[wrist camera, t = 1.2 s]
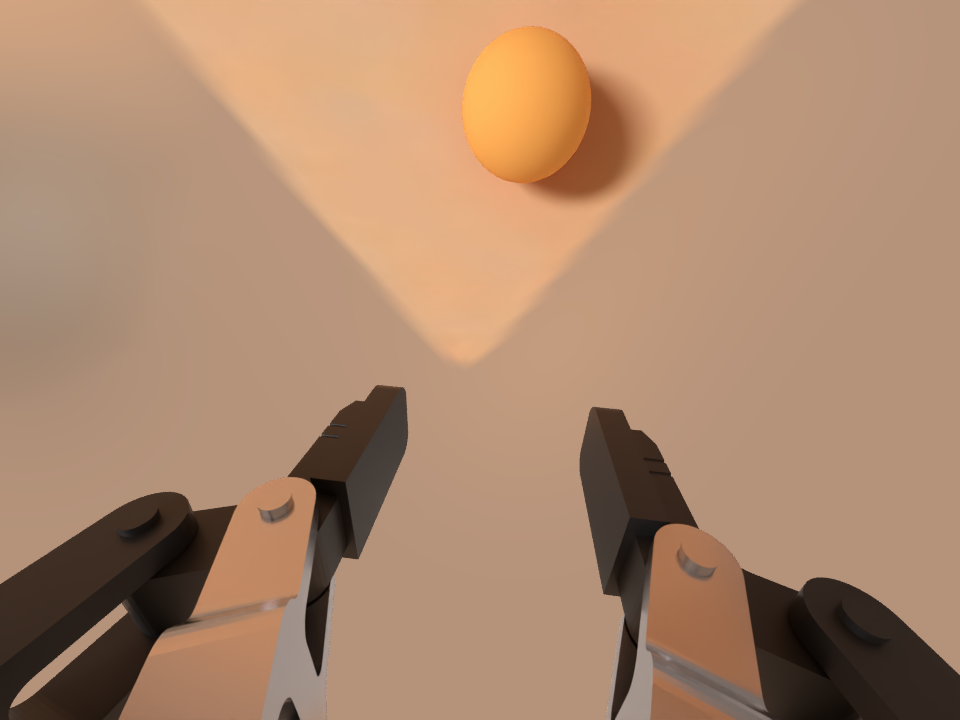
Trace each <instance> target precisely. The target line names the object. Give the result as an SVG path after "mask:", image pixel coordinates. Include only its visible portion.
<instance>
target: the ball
mask: <svg viewBox="0 0 960 720" xmlns="http://www.w3.org/2000/svg"><path fill="white" fill-rule="evenodd" d="M590 111H591V88H590V81H589V77H588V73H587V70H586V68H585V65H584V62H583V61H582V59H581V57H580V55H579V53H578V52H577V51H576V49H575V48H574V47H573V45H572V44H571V43H569V42H568V41H567V40H566V39H565V38H564V37H562V36H561V35H560V34H558V33H556V32H554V31H552V30H549V29H546V28H542V27H534V26H530V27H521V28H517V29H513V30H511V31H509V32H506V33H504V34H503V35H501V36H499V37H498V38H496V39H495V40H494V41H493V42H491V43H490V44H489V45H488V46H487V47H486V48H485V49H484V50H483V52H482V53H481V54H480V56H479V57H478V59H477V60H476V62H475V64H474V65H473V67H472V69H471V72H470V74H469V76H468V79H467V83H466V86H465V90H464V95H463V104H462V119H463V126H464V131H465V135H466V138H467V141H468V143H469V146H470V148H471V150H472V152H473V153H474V155H475V156H476V158H477V159H478V161H479V162H480V163H481V164H482V165H483V166H484V168H486V169H487V170H488V171H489V172H490V173H492V174H494V175H495V176H497V177H499V178H501V179H503V180H506V181H510V182H516V183H529V182H535V181H538V180H541V179H544V178H546V177H548V176H550V175H552V174H553V173H555V172H556V171H558V170H559V169H560V168H561V167H562V166H564V165H565V164H566V162H567V161H568V160H569V159H570V158H571V157H572V155H573V154H574V153H575V151H576V150H577V148H578V146H579V145H580V143H581V141H582V139H583V137H584V134H585V132H586V129H587V126H588V122H589V117H590Z"/></svg>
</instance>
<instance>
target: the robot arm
mask: <svg viewBox="0 0 960 720" xmlns="http://www.w3.org/2000/svg"><path fill="white" fill-rule="evenodd" d="M407 439H408V422H407V404H406V391H405V389H404V388H403V387H393V386H383V385H377V386H376V387H375V388H374V389H373V390H372V392H371V393H370V394H369V396H368V397H367V399H366V400H365V401H355V402H353V403H352V404H350V405H348V406H347V407H345V408H344V409H342V410H341V411H339V413H338V414H337V415H336V417H335V418H334V419H333V420H332V422H331V423H330V426H328V427H327V428H326V429H325V430H324V432H323V433H322V436H321V437H319V438H318V439H317V440H316V442H315V443H314V444H313V445H312V447H311V448H310V449H309V451H308V452H307V453H306V454H305V455H304V457H303V458H302V459H301V460H300V462H299V463H298V464H297V465H296V467H295V468H294V469H293V470H292V472H291V473H290V474H289V475H288V477H286V478H280V479H276V480H273V481H269V482H267V483H265V484H263V485H261V486H259V487H257V488H255V489H254V490H252V491H251V492H250V493H249V494H247V495H246V496H245V497H244V498H243V499H242V500H241V502H240V503H239V504H238V505H235V506H228V507H221V508H214V509H207V510H200V511H192V508H191V506H190V504H189V502H188V500H187V498H186V497H185V496H183V495H182V494H179V493H175V492H161V493H155V494H151V495H147V496H144V497H141V498H138V499H136V500H133V501H131V502H129V503H127V504H125V505H123V506H121V507H119V508H118V509H116V510H114V511H113V512H111V513H110V514H108V515H106V516H105V517H103V518H102V519H100V520H99V521H97V522H96V523H94V524H93V525H91V526H90V527H88V528H86V529H85V530H83V531H82V532H80V533H79V534H77V535H76V536H74V537H72V538H71V539H69V540H68V541H66V542H65V543H63V544H62V545H60V546H59V547H57V548H55V549H54V550H52V551H51V552H49V553H48V554H47V555H45V556H43V557H42V558H40V559H38V560H37V561H35V562H34V563H33V564H31V565H29V566H28V567H26V568H25V569H23V570H21V571H20V572H18V573H17V574H15V575H14V576H12V577H11V578H9V579H8V580H6V581H4V582H3V583H1V584H0V720H327V703H326V677H327V666H328V655H329V644H330V632H331V622H332V611H333V600H334V589H335V578H334V572H335V571H336V569H337V567H338V565H339V563H340V561H341V559H342V557H344V558H352V559H359V557H360V554H361V552H362V550H363V547H364V545H365V543H366V540H367V538H368V536H369V534H370V531H371V529H372V527H373V524H374V522H375V520H376V518H377V515H378V513H379V511H380V508H381V506H382V504H383V501H384V499H385V497H386V495H387V492H388V490H389V488H390V485H391V483H392V481H393V479H394V476H395V474H396V472H397V469H398V467H399V465H400V462H401V460H402V458H403V455H404V453H405V450H406V446H407ZM580 476H581V481H582V486H583V491H584V496H585V502H586V507H587V512H588V517H589V522H590V527H591V532H592V538H593V542H594V548H595V553H596V558H597V563H598V568H599V574H600V579H601V584H602V589H603V594H606V595H613V596H620V597H621V601H622V606H623V610H624V614H623V616H622V619H621V622H620V626H619V633H618V640H617V647H616V653H615V660H614V667H613V674H612V681H611V688H610V694H609V702H608V708H607V715H606V720H960V675H959V674H958V673H957V672H956V671H955V670H953V668H952V667H950V666H949V665H948V664H947V663H946V662H945V661H944V660H943V659H942V658H941V657H940V656H939V655H938V654H937V653H936V652H935V651H934V650H933V649H932V648H930V647H929V646H928V645H927V644H926V643H925V642H924V641H923V640H922V639H921V638H920V637H919V636H918V635H917V634H916V633H915V632H914V631H913V630H911V629H910V628H909V627H908V626H907V625H906V624H905V623H904V622H903V621H902V620H901V619H900V618H899V617H898V616H897V615H895V614H894V613H893V612H892V611H891V610H890V609H888V608H887V607H886V606H884V605H883V604H882V603H881V602H879V601H877V600H876V599H875V598H873V597H872V596H870V595H868V594H867V593H865V592H863V591H861V590H860V589H858V588H856V587H853V586H851V585H849V584H847V583H844V582H841V581H838V580H835V579H830V578H813V579H811V580H809V581H807V582H806V584H805V585H804V586H803V587H802V589H801V590H800V591H799V592H798V591H796V590H793V589H791V588H788V587H786V586H783V585H780V584H778V583H775V582H773V581H770V580H768V579H765V578H763V577H760V576H757V575H755V574H752V573H750V572H748V571H746V570H744V569H742V568H741V567H740V565H739V563H738V562H737V560H736V558H735V557H734V556H733V554H732V553H731V552H730V551H729V550H728V549H727V548H726V547H725V546H724V545H723V544H722V543H721V542H719V541H718V540H717V539H715V538H714V537H713V536H711V535H709V534H708V533H706V532H704V531H702V530H700V529H699V528H698V526H697V524H696V522H695V520H694V518H693V516H692V514H691V512H690V510H689V508H688V506H687V504H686V502H685V500H684V498H683V496H682V494H681V492H680V490H679V489H678V487H677V485H676V483H675V481H674V479H673V477H671V473H670V471H669V469H668V467H667V465H666V463H664V459H663V457H662V455H661V453H660V451H659V449H658V447H657V445H656V444H655V443H654V442H653V441H652V440H651V439H650V438H649V437H648V436H647V435H645V434H644V433H643V432H642V431H640V430H631V429H630V426H629V424H628V422H627V420H626V417H625V416H624V413H623V411H622V410H619V409H609V408H599V407H592V408H591V410H590V413H589V417H588V422H587V426H586V430H585V435H584V439H583V444H582V448H581V453H580ZM121 603H122V604H123V606H124V607H125V609H126V610H127V611H128V613H127V614H126V615H125V616H123V617H122V618H121V619H120V620H119V621H118V622H117V623H115V624H114V625H113V626H112V627H111V628H110V629H109V630H107V631H106V632H105V633H104V634H103V635H102V636H101V637H99V638H98V639H97V640H96V641H95V642H94V643H93V644H91V645H90V646H89V647H88V648H87V649H86V650H85V651H83V652H82V653H81V654H80V655H79V656H78V657H77V658H75V659H74V660H73V661H72V662H71V663H70V664H69V665H67V666H66V667H65V668H64V669H63V670H62V671H61V672H59V673H58V674H57V675H56V676H55V677H54V678H53V679H51V680H50V681H49V682H48V683H47V684H46V685H45V686H43V687H42V688H41V689H40V690H39V691H38V692H36V693H35V694H34V695H33V696H31V697H30V698H29V699H27V700H26V701H24V702H22V703H21V704H19V705H17V706H15V707H12V708H10V706H11V704H12V702H13V700H14V699H15V697H16V696H17V694H18V693H19V692H20V691H21V689H22V688H23V687H24V686H25V685H26V684H27V683H28V682H29V681H30V680H31V679H32V678H33V677H34V676H35V675H36V674H37V673H39V672H40V671H41V670H42V669H43V668H45V667H46V666H47V665H48V664H49V663H51V662H52V661H53V660H54V659H55V658H57V657H58V656H59V655H60V654H61V653H62V652H64V651H65V650H66V649H67V648H68V647H70V645H72V644H73V643H74V642H75V641H76V640H78V639H79V638H80V637H81V636H83V635H84V634H85V633H86V632H87V631H88V630H90V629H91V628H92V627H93V626H94V625H96V624H97V623H98V622H99V621H100V620H101V619H103V618H104V617H105V616H106V615H107V614H109V613H110V612H111V611H112V610H113V609H115V608H116V607H117V606H118V605H119V604H121Z"/></svg>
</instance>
